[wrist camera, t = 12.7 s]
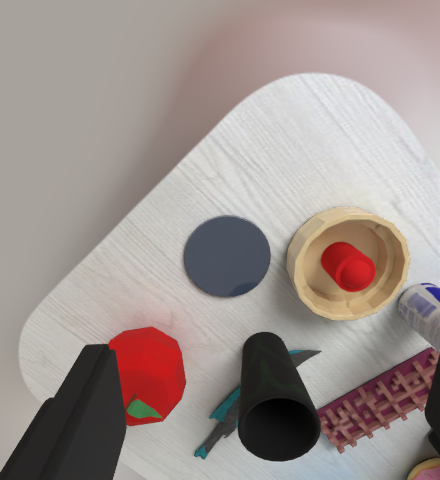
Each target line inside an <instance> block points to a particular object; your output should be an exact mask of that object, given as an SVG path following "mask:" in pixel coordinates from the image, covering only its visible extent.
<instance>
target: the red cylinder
mask: <svg viewBox="0 0 440 480" xmlns="http://www.w3.org/2000/svg"><path fill="white" fill-rule="evenodd" d="M321 264H322V267H323V269H324V270H325V271H326V272H327V273H328V275H329V276H330V277H331V278H332V279H333V280H334V281H335V283H336V284H337V285H338V286H339V287H340V288H341V289H343V290H344V291H347V292H358V291H361V290H363V289H365V288H367V287H368V286H369V285H370V284H371V283H372V281H373V280H374V277H375V274H376V268H375V265H374V263H373V261H372V260H371V259H370V258H368V257H367V256H366V255H364V254H363V253H362V252H360V251H359V250H358V249H356V248H355V247H354V246H352V245H351V244H349V243H347V242H335V243H333V244H331V245H329V246H328V247H327V248H326V249H325V250H324V252H323V254H322V257H321Z"/></svg>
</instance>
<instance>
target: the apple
mask: <svg viewBox="0 0 440 480" xmlns="http://www.w3.org/2000/svg"><path fill="white" fill-rule="evenodd" d="M108 346H109V348H110V349H114V350H115V351H116V356H117V362H118V369H119V375H120V382H121V388H122V395H123V401H124V408H125V414H126V422H127V425H128V426H135V425H142V424H148V423H155V422H161V421H164V419H165V418H166V417H167V416H168V415H169V413H170V412H171V411H172V410H173V409H174V407H175V406H176V405H177V404H178V403H179V401H180V400H181V399H182V396H183V392H184V389H185V385H186V379H185V372H184V365H183V359H182V353H181V350H180V348H179V345H178V343H177V341H176V340H175V339H173V338H171V337H169V336H168V335H166V334H164V333H162V332H161V331H159V330H157V329H155V328H154V327H147V328H141V329H135V330H128V331H124V332H122V333H121V334H119V335H118V336H116V337H115V338H113V339H112V340H110V342H109V343H108Z"/></svg>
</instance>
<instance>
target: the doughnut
mask: <svg viewBox="0 0 440 480" xmlns="http://www.w3.org/2000/svg"><path fill="white" fill-rule="evenodd" d="M407 480H440V458H434V459H430V460H427V461H424V462H422V463H420V464H418V465H417V466H416V467H415V468H413V470H412V471H411V472H410V474H409V475H408V478H407Z"/></svg>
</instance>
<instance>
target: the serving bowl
mask: <svg viewBox="0 0 440 480" xmlns="http://www.w3.org/2000/svg"><path fill="white" fill-rule="evenodd" d="M335 242H347V243H349V244H351V245H352V246H354V247H355V248H356V249H358V250H359V251H360V252H362V253H363V254H364V255H366V256H367V257H368V258H370V259H371V260H372V261H373V263H374V265H375V268H376V274H375V277H374V280H373V281H372V283H371V284H370V285H369V286H368V287H367V288H365V289H363V290H361V291H358V292H347V291H344V290H343V289H341V288H340V287H339V286H338V285H337V284H336V283H335V281H334V280H333V279H332V278H331V277H330V276H329V275H328V273H327V272H326V271H325V270H324V269H323V267H322V264H321V257H322V254H323V252H324V250H325V249H326V248H327V247H328V246H329V245H331V244H333V243H335ZM409 265H410V255H409V250H408V246H407V241H406V239H405V237H404V236H403V235H402V234H401V233H400V231H399V230H398V229H397V228H396V227H395V225H394V224H393V223H391V222H389V221H387V220H385V219H383V218H380V217H378V216H376V215H374V214H372V213H369V212H367V211H365V210H363V209H360V208H358V207H334V208H331V209H329V210H326V211H324V212H321V213H319V214H316V215H314V216H313V217H312V218H310V219H309V220H308V221H307V222H306V223H305V224H304V225H303V226H301V227H300V228H299V229H298V230H297V232H296V234H295V236H294V238H293V240H292V242H291V244H290V245H289V247H288V253H287V265H286V269H287V272H288V275H289V277H290V280H291V283H292V285H293V287H294V289H295V291H296V293H297V294H298V296H299V298H300V300H301V301H302V302H303V303H304V304H305V305H306V306H307V307H308V308H309V309H310V310H311V311H313V312H314V313H315V314H318V315H320V316H323V317H326V318H328V319H331V320H357V319H360V318H363V317H366V316H369V315H371V314H374V313H377V312H378V311H379V310H380V309H382V308H383V307H384V306H386V305H387V304H388V303H390V302H391V301H392V300H394V298H395V297H396V295H397V294H398V292H399V291H400V289H401V288H402V286H403V284H404V283H405V281H406V279H407V274H408V269H409Z"/></svg>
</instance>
